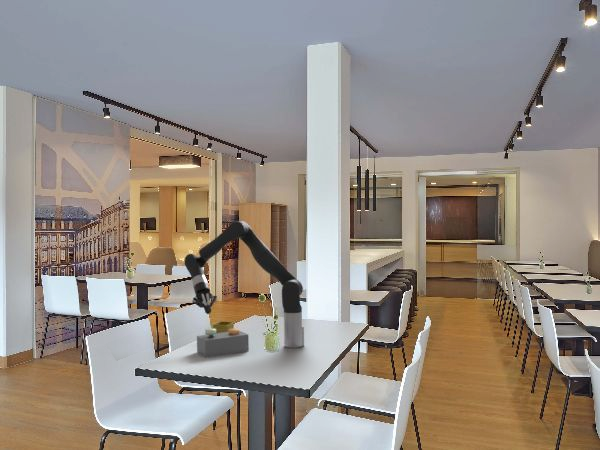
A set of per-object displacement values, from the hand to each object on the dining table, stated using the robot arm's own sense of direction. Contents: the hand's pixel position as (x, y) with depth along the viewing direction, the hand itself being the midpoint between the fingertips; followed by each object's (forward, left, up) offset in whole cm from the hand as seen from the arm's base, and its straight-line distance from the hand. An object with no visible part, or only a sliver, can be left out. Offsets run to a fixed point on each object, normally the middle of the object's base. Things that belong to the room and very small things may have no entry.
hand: (208, 313), depth 238 cm
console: (-4, +7, -18) cm, 20 cm away
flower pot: (-14, -17, -19) cm, 29 cm away
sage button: (+2, +7, -10) cm, 12 cm away
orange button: (-10, +7, -12) cm, 17 cm away
